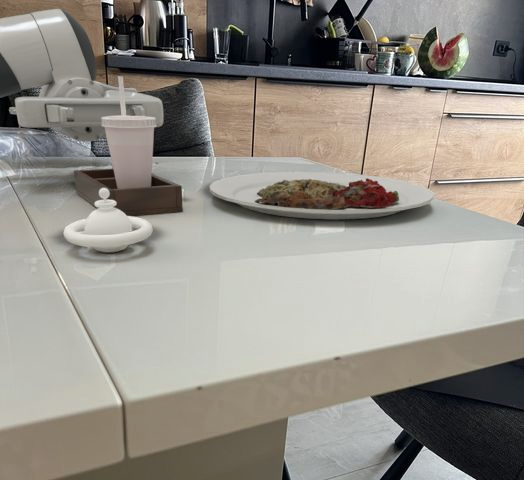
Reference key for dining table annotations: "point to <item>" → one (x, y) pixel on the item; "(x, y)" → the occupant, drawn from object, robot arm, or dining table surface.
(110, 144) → the smoothie
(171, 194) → the holder
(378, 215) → the plated food
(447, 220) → the dining table surface
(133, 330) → the dining table surface
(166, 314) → the dining table surface
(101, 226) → the ring around a ball
